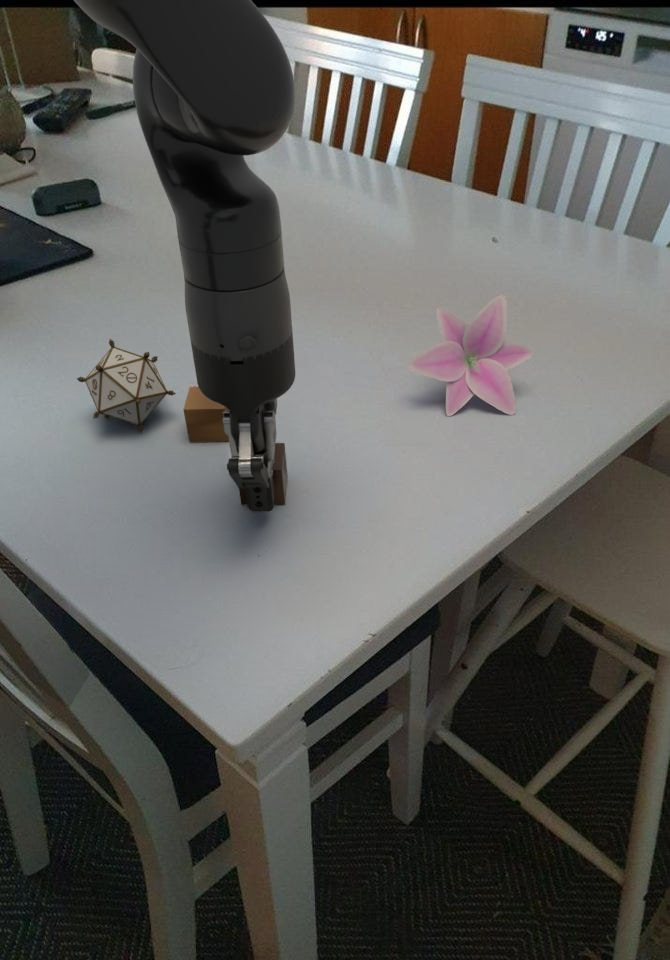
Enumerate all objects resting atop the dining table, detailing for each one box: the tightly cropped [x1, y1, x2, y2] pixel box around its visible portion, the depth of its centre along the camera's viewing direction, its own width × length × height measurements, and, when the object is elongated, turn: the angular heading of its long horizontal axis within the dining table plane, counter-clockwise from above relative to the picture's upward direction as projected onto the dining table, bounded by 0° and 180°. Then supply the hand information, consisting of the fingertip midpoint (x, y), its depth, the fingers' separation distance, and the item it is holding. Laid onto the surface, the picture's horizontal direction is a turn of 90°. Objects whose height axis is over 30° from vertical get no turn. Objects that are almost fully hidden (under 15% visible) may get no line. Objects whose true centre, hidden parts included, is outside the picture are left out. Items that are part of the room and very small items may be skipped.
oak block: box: [182, 386, 229, 443], centre depth 81 cm, size 4×4×4 cm
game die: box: [76, 338, 177, 434], centre depth 81 cm, size 9×8×10 cm
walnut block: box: [238, 442, 288, 506], centre depth 73 cm, size 4×4×4 cm
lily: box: [406, 294, 535, 417], centre depth 83 cm, size 12×12×10 cm
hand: (261, 506), depth 70 cm, fingers closed
